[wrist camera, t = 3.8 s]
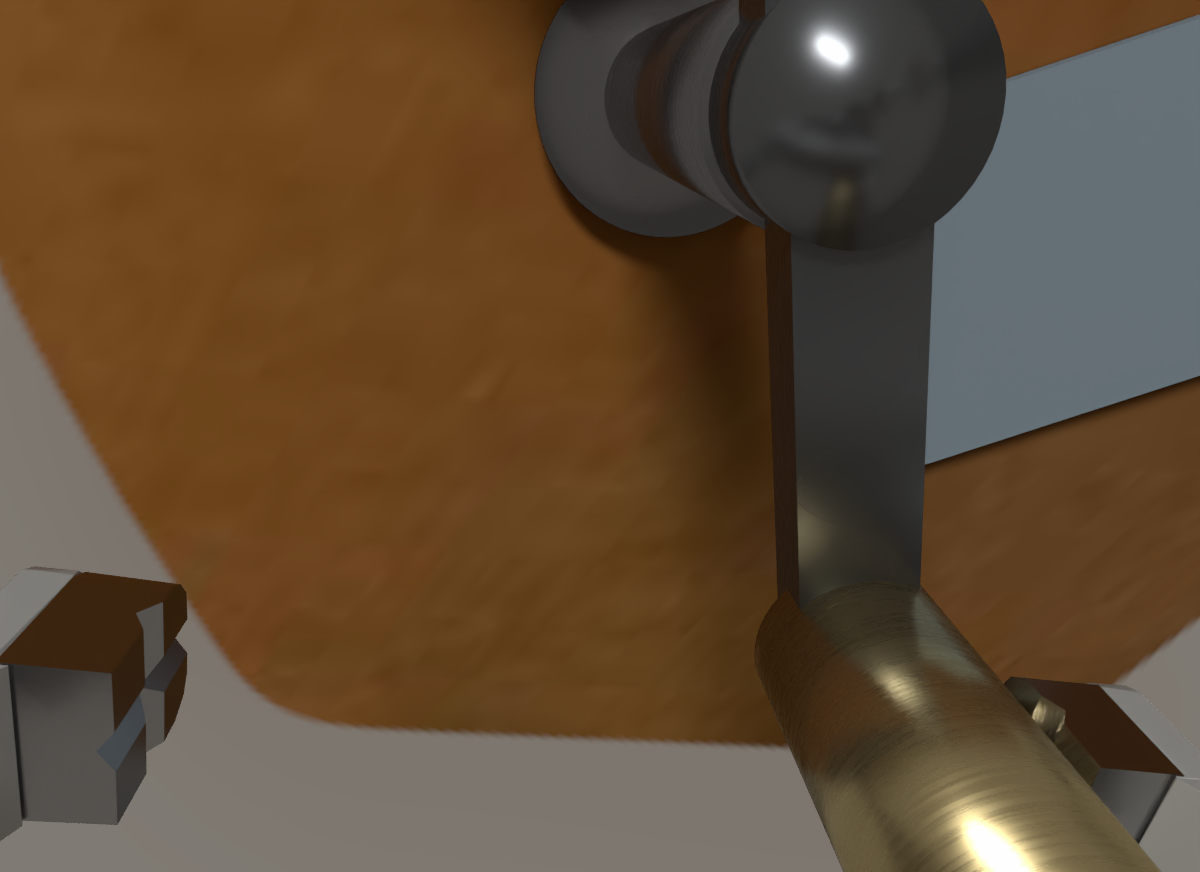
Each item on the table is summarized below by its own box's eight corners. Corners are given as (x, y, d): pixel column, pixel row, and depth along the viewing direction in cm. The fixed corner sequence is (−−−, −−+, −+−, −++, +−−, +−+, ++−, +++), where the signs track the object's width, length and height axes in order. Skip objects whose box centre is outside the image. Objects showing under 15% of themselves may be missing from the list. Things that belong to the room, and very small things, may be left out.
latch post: (762, -92, 18) (1055, -295, 9) (817, 186, 21) (1096, 272, 11) (496, -2, 18) (487, -100, 9) (580, 264, 21) (648, 420, 11)
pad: (1197, 15, 20) (1213, 13, 20) (1204, 363, 24) (1218, 369, 23) (829, 137, 20) (836, 139, 20) (891, 465, 24) (898, 473, 23)
